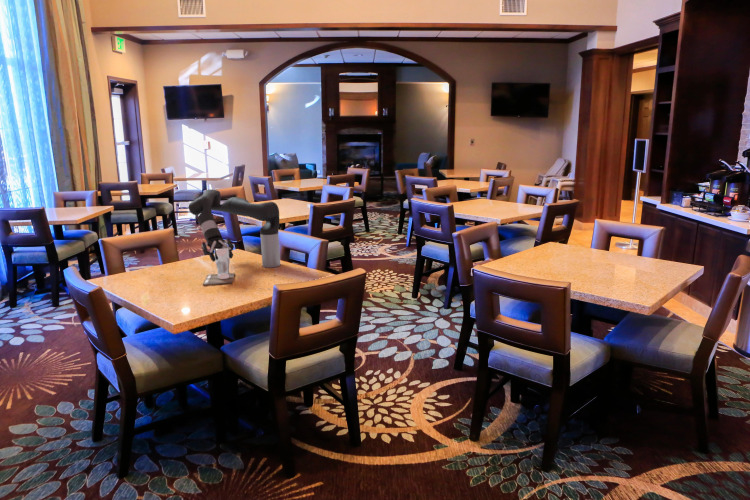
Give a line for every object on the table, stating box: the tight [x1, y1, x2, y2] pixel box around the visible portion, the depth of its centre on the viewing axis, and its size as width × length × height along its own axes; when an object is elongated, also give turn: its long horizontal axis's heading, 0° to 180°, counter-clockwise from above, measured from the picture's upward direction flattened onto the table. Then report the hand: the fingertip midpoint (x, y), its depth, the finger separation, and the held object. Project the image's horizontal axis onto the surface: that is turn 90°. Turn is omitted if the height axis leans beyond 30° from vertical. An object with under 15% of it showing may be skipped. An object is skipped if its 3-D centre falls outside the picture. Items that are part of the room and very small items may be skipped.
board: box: [202, 272, 236, 287], centre depth 259 cm, size 17×13×1 cm
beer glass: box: [213, 245, 231, 280], centre depth 258 cm, size 7×7×15 cm
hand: (223, 259), depth 256 cm, fingers open, 8 cm apart
